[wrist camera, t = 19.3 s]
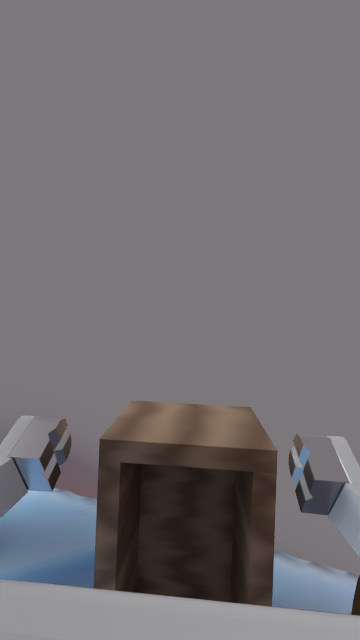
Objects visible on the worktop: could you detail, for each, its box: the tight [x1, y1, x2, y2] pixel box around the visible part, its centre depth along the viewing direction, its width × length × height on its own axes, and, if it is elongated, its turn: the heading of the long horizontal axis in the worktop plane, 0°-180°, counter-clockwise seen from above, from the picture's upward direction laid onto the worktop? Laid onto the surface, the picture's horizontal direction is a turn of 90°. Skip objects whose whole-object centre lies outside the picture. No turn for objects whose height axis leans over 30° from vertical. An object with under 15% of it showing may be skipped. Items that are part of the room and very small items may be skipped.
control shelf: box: [94, 401, 277, 607], centre depth 32 cm, size 16×13×26 cm
